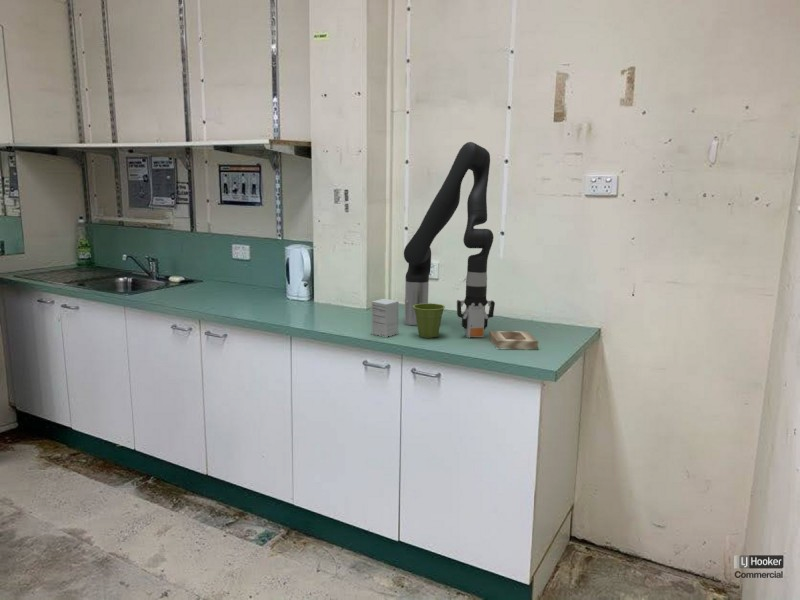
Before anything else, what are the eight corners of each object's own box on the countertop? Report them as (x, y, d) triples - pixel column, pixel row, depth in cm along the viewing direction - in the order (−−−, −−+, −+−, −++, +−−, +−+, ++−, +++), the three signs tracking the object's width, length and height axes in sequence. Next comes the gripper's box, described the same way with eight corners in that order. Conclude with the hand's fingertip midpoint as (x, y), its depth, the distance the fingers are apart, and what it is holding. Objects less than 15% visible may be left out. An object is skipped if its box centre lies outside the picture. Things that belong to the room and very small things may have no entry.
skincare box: (468, 338, 212) (470, 306, 210) (464, 335, 216) (465, 304, 214) (484, 337, 214) (485, 305, 212) (479, 334, 218) (481, 303, 216)
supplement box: (383, 330, 222) (384, 298, 219) (398, 334, 217) (399, 301, 215) (370, 334, 216) (371, 301, 213) (385, 337, 211) (386, 303, 209)
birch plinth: (497, 349, 199) (497, 340, 198) (489, 338, 212) (489, 330, 212) (537, 349, 199) (538, 340, 199) (526, 339, 213) (527, 330, 212)
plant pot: (440, 331, 222) (441, 302, 220) (447, 339, 210) (448, 309, 208) (409, 332, 220) (410, 303, 218) (415, 340, 209) (415, 309, 206)
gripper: (458, 285, 207) (456, 330, 210) (498, 285, 208) (495, 331, 211) (455, 282, 215) (453, 325, 218) (493, 282, 215) (491, 326, 219)
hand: (474, 328), depth 214 cm, fingers closed on skincare box, 6 cm apart
